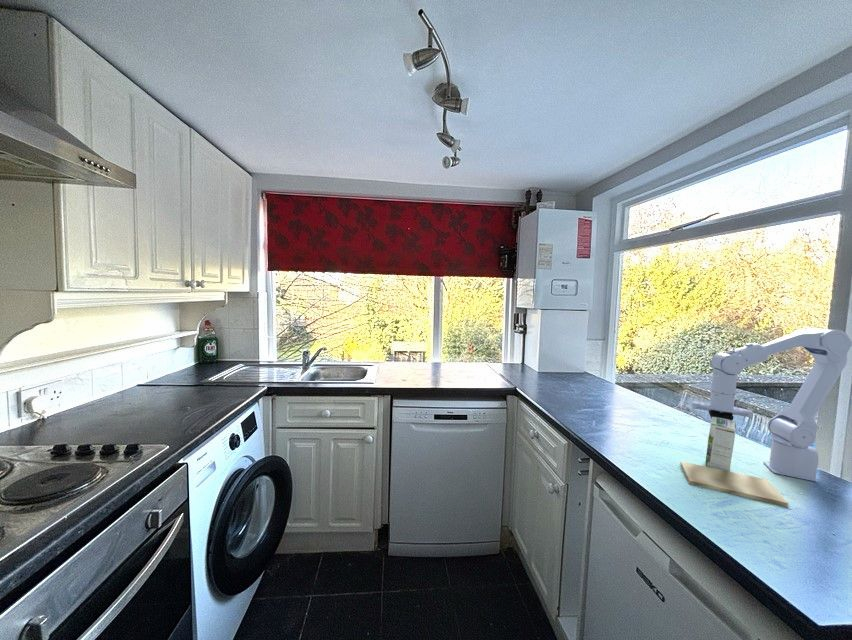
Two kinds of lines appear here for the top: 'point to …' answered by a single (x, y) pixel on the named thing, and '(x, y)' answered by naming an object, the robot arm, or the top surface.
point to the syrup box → (720, 443)
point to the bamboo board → (732, 483)
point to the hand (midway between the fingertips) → (718, 435)
